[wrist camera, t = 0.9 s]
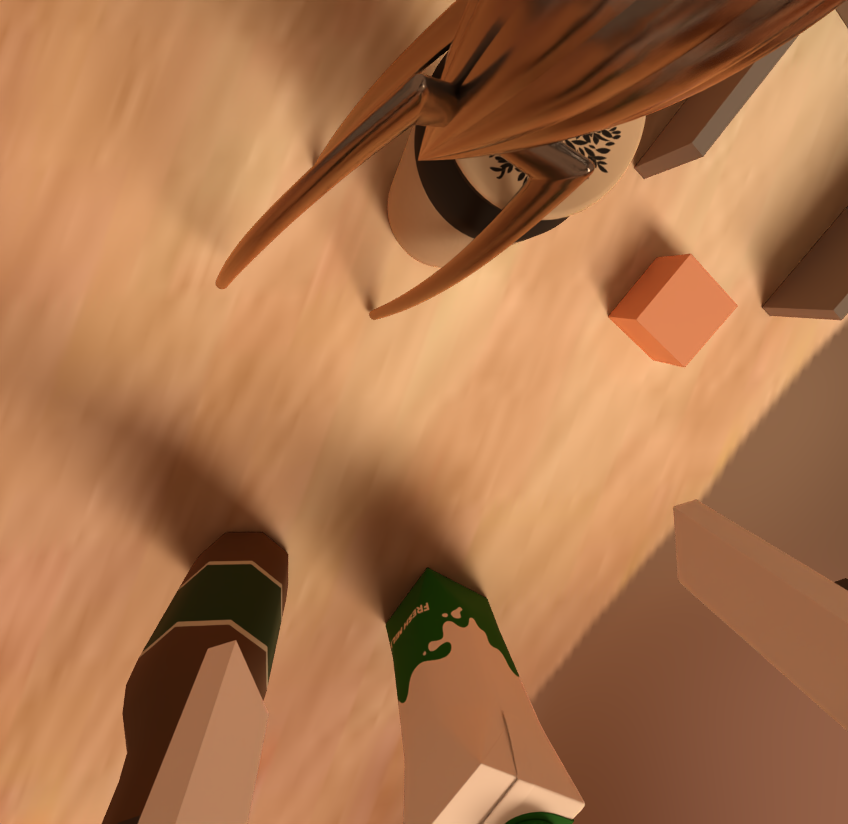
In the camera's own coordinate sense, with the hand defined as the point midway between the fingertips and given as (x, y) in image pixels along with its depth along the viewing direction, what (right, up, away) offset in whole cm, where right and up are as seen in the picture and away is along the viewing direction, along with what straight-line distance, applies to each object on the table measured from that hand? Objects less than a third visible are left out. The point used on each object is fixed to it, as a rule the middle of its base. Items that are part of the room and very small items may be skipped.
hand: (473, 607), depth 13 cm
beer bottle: (-17, -7, +25) cm, 31 cm away
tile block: (+18, +14, +24) cm, 34 cm away
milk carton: (0, -13, +29) cm, 32 cm away
